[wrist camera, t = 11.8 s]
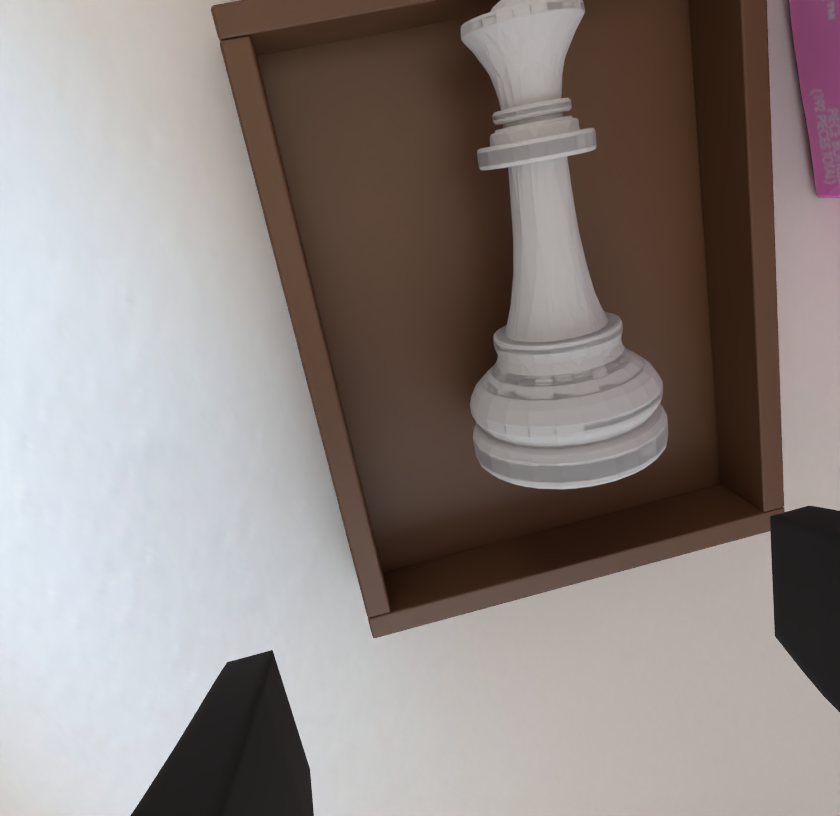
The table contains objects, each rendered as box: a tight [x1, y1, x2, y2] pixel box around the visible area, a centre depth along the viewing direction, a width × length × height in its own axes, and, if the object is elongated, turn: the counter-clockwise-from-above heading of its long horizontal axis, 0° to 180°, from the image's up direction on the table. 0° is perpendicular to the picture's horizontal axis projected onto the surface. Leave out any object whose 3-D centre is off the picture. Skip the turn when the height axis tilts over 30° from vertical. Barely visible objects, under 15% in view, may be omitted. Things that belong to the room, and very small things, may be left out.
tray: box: [211, 0, 784, 638], centre depth 17 cm, size 14×11×2 cm
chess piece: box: [460, 0, 668, 489], centre depth 14 cm, size 4×4×10 cm
